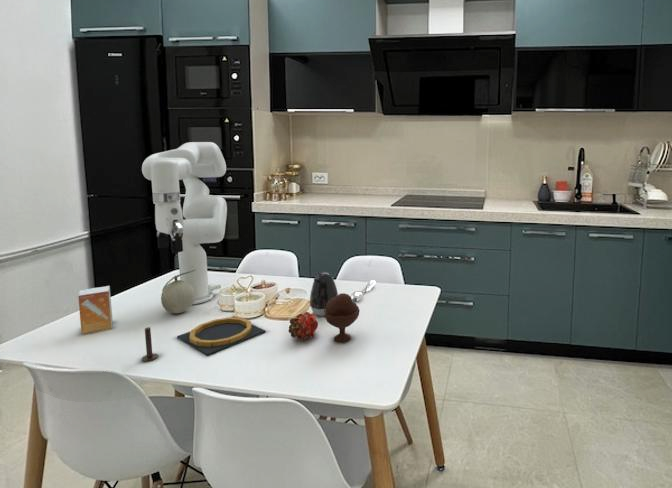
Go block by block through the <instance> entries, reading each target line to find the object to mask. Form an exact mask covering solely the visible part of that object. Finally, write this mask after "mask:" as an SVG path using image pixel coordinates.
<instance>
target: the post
mask: <svg viewBox="0 0 672 488" xmlns="http://www.w3.org/2000/svg"><path fill="white" fill-rule="evenodd" d="M151 329H152V328H151V327H150V326H148V327H147V326H146V327H145V328H144V337H145V338H144V339H145V350H146V351H145V352H146V354H145V355H143V356H142V358H141V362H143V363H148V362H152V361H155V360H157V359H158V358H159V354H158V353H153V342H152V330H151Z"/></svg>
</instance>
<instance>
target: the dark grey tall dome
mask: <svg viewBox="0 0 672 488" xmlns="http://www.w3.org/2000/svg"><path fill="white" fill-rule="evenodd" d="M338 295H339V292H338V288H337V285H336V282H335V280H334V278H333V275H331V273H329V272H328V271H320V272H318V273H317V275H316V276H315V278H314V279H313V282H312V286H311V290H310V294H309V307H310V308H311V311H312V312H313V314H314V315H317V316H319V317H325V313H324V310H325V309H326V305H327V303H328V301H329V300H330V299H332V298H333V297H336V296H338Z"/></svg>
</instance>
